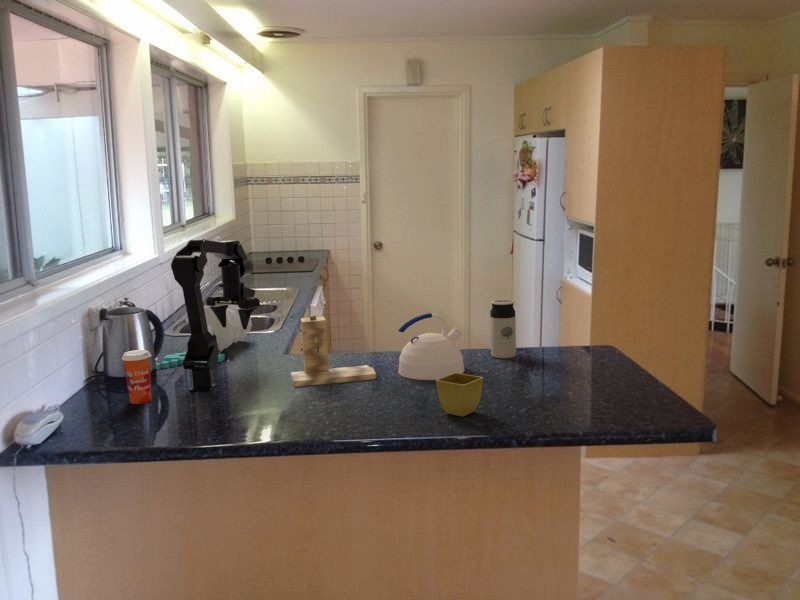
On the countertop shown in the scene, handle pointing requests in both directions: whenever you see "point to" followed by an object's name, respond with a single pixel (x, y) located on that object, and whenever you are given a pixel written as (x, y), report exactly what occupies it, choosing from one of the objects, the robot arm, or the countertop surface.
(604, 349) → the countertop surface
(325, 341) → the tan wooden tall block
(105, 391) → the countertop surface
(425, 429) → the countertop surface
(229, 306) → the spiral staircase
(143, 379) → the paper cup
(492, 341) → the travel mug
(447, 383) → the flower pot
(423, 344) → the kettle
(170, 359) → the alien figure
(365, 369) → the board
